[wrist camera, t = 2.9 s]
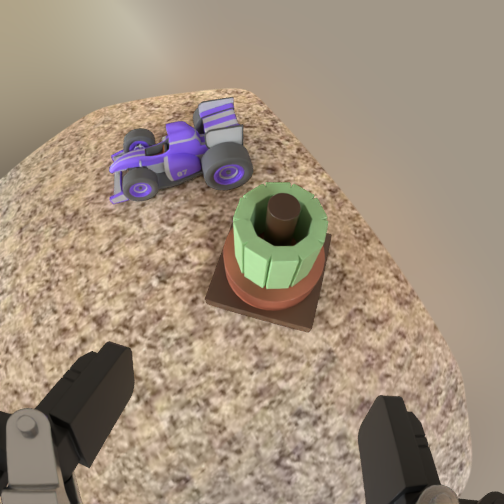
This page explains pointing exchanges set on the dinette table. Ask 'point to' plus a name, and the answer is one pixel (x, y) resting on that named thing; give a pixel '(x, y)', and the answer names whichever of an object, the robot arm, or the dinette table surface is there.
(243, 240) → the green ring
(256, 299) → the stand
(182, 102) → the dinette table surface
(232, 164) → the toy race car
